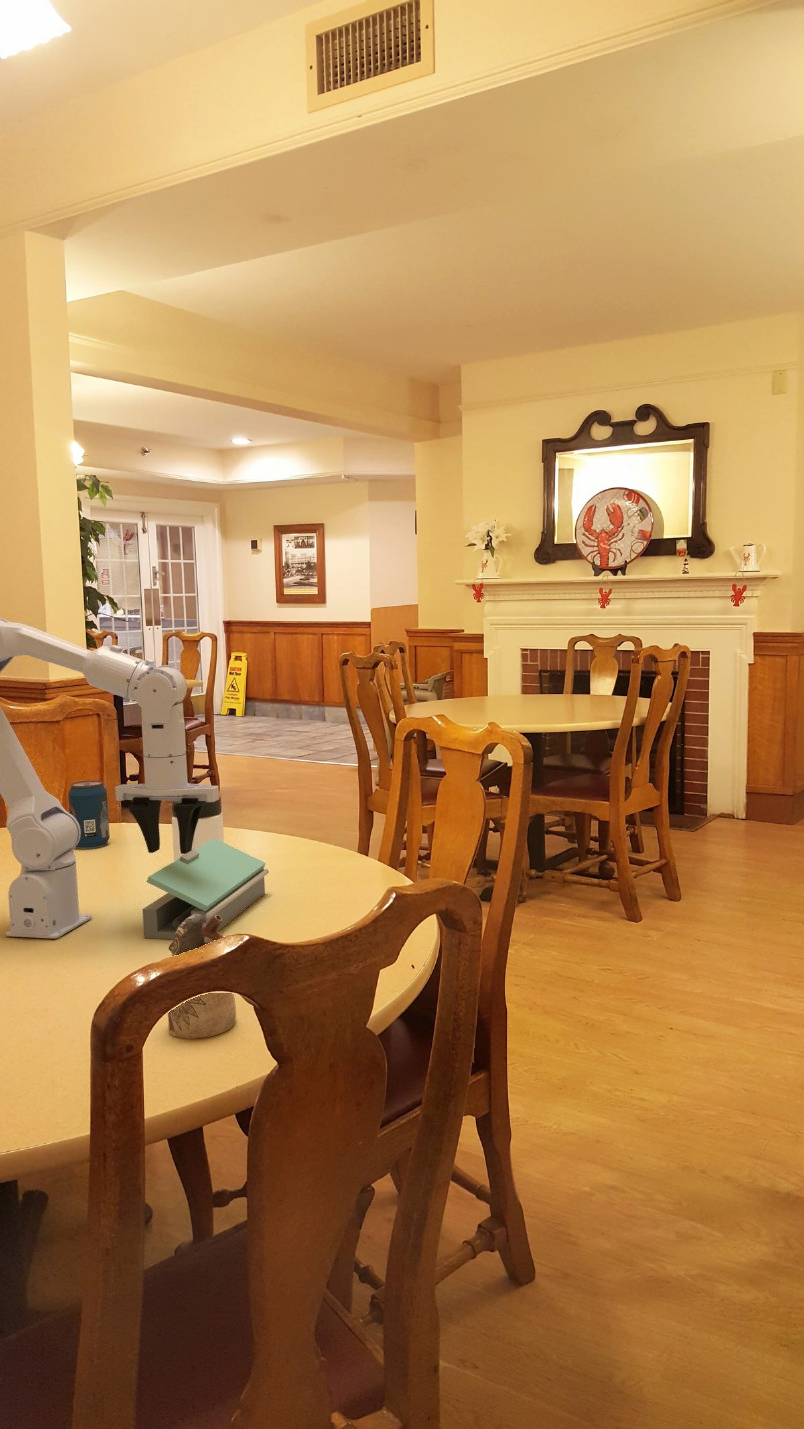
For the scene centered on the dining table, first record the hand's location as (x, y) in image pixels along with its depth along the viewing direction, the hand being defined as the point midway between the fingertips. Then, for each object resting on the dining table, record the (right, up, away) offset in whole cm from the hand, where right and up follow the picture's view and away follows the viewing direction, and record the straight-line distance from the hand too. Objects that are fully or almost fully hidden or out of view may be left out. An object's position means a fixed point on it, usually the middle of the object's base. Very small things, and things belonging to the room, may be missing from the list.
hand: (170, 851), depth 138 cm
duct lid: (+5, -4, +5) cm, 8 cm away
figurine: (+11, -14, -33) cm, 37 cm away
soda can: (-27, -6, +50) cm, 57 cm away
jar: (-2, -7, +31) cm, 32 cm away
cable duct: (+4, -10, +5) cm, 12 cm away
